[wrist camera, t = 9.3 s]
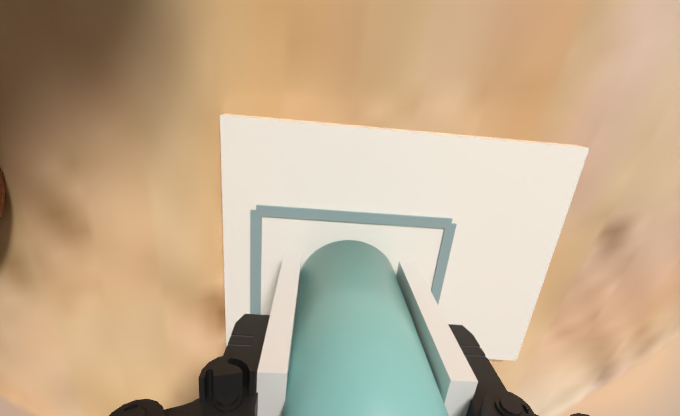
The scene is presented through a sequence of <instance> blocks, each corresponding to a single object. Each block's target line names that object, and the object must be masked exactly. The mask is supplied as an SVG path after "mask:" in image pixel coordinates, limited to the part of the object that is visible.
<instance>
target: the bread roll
mask: <svg viewBox="0 0 680 416" xmlns="http://www.w3.org/2000/svg"><path fill="white" fill-rule="evenodd" d="M4 204H5V184H4V179H3V175H2V172H1V170H0V217H1V216H2V214H3V209H4Z"/></svg>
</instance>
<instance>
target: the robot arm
mask: <svg viewBox="0 0 680 416" xmlns="http://www.w3.org/2000/svg"><path fill="white" fill-rule="evenodd" d="M301 258H302V254H298V253H284V256H283V261H282V265H281V269H280V274H279V278H278V283H277V287H276V291H275V296H274V300H273V305H272V309H271V313H270V315H259V314H244V315H243V316H242V317H241V318H240V319H239V320H238V321H237V322H236V323H235V325H234V328H233V331H232V334H231V336H230V339H229V342H228V346H227V347H226V350H225V353H224V355H223V356H222V357H218V358H216V359H214V360H212V361H211V362H209V363H208V364H207V365H206V366H205V367H204V368H203V369H202V371H201V373H200V376H199V397H200V398H198V399H197V400H195V401H193V402H191V403H188V404H185V405H182V406H178V407H174V408H170V409H166V410H163V406H161V405H160V404H159V403H158V402H157V401H154V400H150V399H142V400H135V401H132V402H129V403H127V404H124V405H122V406H121V407H119V408H118V409H117V410H115V411H114V412H112V413H111V414H110V415H109V416H282V410H283V406H284V403H285V398H286V390H287V381H288V373H289V364H290V356H291V347H292V339H293V330H294V322H295V314H296V305H297V297H298V288H299V280H300V271H301ZM396 278H397V280H398V283H399V286H400V288H401V291H402V294H403V296H404V299H405V302H406V304H407V307H408V309H409V312H410V315H411V317H412V320H413V323H414V325H415V328H416V331H417V333H418V336H419V339H420V341H421V344H422V346H423V349H424V352H425V354H426V357H427V360H428V362H429V365H430V368H431V370H432V373H433V376H434V378H435V381H436V384H437V386H438V389H439V391H440V394H441V397H442V399H443V402H444V405H445V407H446V410H447V413H448V415H449V416H538V415H536V414H534V412H533V411H532V409H531V408H530V406H529V405H528V404H527V403H526V402H525V401H524V400H523V399H521V398H520V397H518V396H516V395H515V394H513V393H511V392H508V391H507V390H506V388H505V387H504V385H503V383H502V382H501V380H500V378H499V377H498V375H497V373H496V372H495V370H494V368H493V367H492V365H491V363H490V362H489V360H488V358H487V357H486V356H485V353H484V352H483V350H482V348H480V345H479V343H478V342H477V340H476V338H475V337H474V335H473V334H472V333H471V332H470V331H468V330H467V329H466V328H465V327H464V326H463V325H453V324H448V323H447V321H446V319H445V317H444V315H443V314H442V312H441V310H440V308H439V306H438V304H437V302H436V300H435V298H434V296H433V294H432V293H431V291H430V289H429V287H428V285H427V283H426V281H425V279H424V277H423V275H422V273H421V271H420V270H419V268H418V266H417V264H416V262H410V261H399V263H398V269H397V274H396ZM570 416H589V415H586V414H580V413H577V414H573V415H570Z"/></svg>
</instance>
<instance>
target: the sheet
mask: <svg viewBox="0 0 680 416" xmlns="http://www.w3.org/2000/svg"><path fill="white" fill-rule="evenodd" d="M220 134H221V171H222V208H223V245H224V282H225V319H226V347H227V346H228V342H229V339H230V336H231V334H232V331H233V328H234V325H235V323H236V322H237V321H238V320H239V319H240V318H241V317H242V316H243V315H244V314H259V315H270V313H271V309H272V305H273V300H274V296H275V291H276V287H277V283H278V278H279V274H280V269H281V265H282V261H283V256H284V253H298V254H302V258H301V269H302V267H303V264H304V263H305V261H306V260H307V259H308V258H309V256H310V255H311V254H313V253H314V252H315V251H316V250H318V249H319V248H321V247H323V246H325V245H327V244H329V243H332V242H336V241H342V240H355V241H361V242H365V243H367V244H370V245H372V246H374V247H376V248H377V249H379V250H380V251H381V252H382V253H383V254H384V255H385V256H386V257H387V258H388V260H389V261H390V263H391V265H392V267H393V270H394V272H395V275H396V274H397V269H398V263H399V261H410V262H416V264H417V266H418V268H419V270H420V271H421V273H422V275H423V277H424V279H425V281H426V283H427V285H428V287H429V289H430V291H431V293H432V294H433V296H434V298H435V300H436V302H437V304H438V306H439V308H440V310H441V312H442V314H443V315H444V317H445V319H446V321H447V323H448V324H453V325H463V326H464V327H465V328H466V329H467V330H468V331H470V332H471V333H472V334H473V335H474V337H475V338H476V340H477V342H478V343H479V345H480V348H482V350H483V352H484V353H485V356H486V357H487V358H488V359H494V360H517V357H518V354H519V351H520V348H521V345H522V342H523V340H524V337H525V334H526V331H527V328H528V325H529V322H530V319H531V316H532V313H533V310H534V308H535V305H536V302H537V299H538V296H539V293H540V290H541V287H542V284H543V281H544V279H545V276H546V273H547V270H548V267H549V264H550V261H551V258H552V255H553V252H554V249H555V247H556V244H557V241H558V238H559V235H560V232H561V229H562V226H563V223H564V220H565V218H566V215H567V212H568V209H569V206H570V203H571V200H572V197H573V194H574V191H575V189H576V186H577V183H578V180H579V177H580V174H581V171H582V168H583V165H584V162H585V159H586V157H587V154H588V151H589V148H587V147H583V146H579V145H571V144H560V143H548V142H537V141H526V140H515V139H504V138H493V137H482V136H471V135H459V134H448V133H437V132H426V131H415V130H404V129H393V128H381V127H370V126H359V125H348V124H337V123H326V122H315V121H303V120H292V119H281V118H270V117H259V116H248V115H237V114H222V115H220Z"/></svg>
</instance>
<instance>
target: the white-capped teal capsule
mask: <svg viewBox="0 0 680 416" xmlns="http://www.w3.org/2000/svg"><path fill="white" fill-rule="evenodd" d="M282 416H449V415H448V413H447V410H446V407H445V405H444V402H443V399H442V397H441V394H440V391H439V389H438V386H437V384H436V381H435V378H434V376H433V373H432V370H431V368H430V365H429V362H428V360H427V357H426V354H425V352H424V349H423V346H422V344H421V341H420V339H419V336H418V333H417V331H416V328H415V325H414V323H413V320H412V317H411V315H410V312H409V309H408V307H407V304H406V302H405V299H404V296H403V294H402V291H401V288H400V286H399V283H398V280H397V278H396V275H395V272H394V270H393V267H392V265H391V263H390V261H389V260H388V258H387V257H386V256H385V255H384V254H383V253H382V252H381V251H380V250H379V249H377V248H376V247H374V246H372V245H370V244H367V243H365V242H361V241H355V240H342V241H336V242H332V243H329V244H327V245H325V246H323V247H321V248H319V249H318V250H316V251H315V252H314V253H313V254H311V255H310V256H309V258H308V259H307V260H306V261H305V263H304V264H303V267H302V269H301V271H300V280H299V288H298V297H297V305H296V314H295V322H294V330H293V339H292V347H291V356H290V364H289V373H288V381H287V390H286V398H285V403H284V406H283V410H282Z"/></svg>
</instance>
